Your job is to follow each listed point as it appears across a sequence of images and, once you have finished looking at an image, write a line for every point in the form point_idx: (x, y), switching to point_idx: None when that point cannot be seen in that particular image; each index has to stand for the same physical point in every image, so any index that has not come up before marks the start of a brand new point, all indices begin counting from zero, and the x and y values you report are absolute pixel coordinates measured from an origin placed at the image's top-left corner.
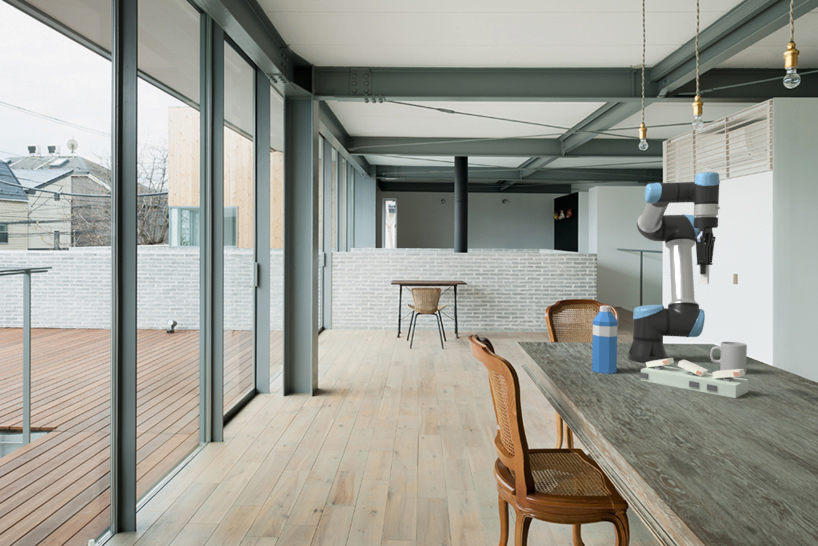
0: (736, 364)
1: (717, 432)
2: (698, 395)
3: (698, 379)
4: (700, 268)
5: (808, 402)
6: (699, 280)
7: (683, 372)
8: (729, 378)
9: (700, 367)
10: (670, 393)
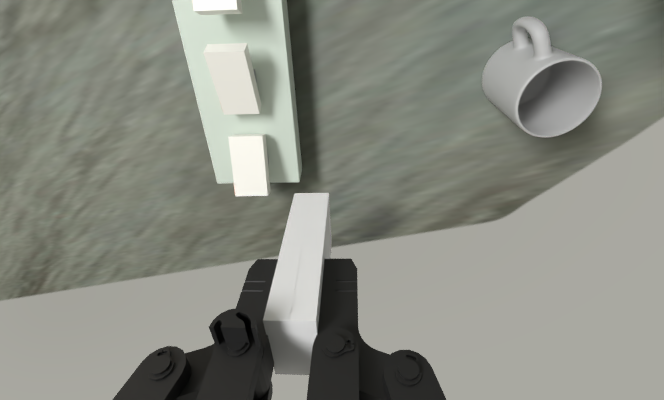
0: (492, 100)
1: (14, 213)
2: (176, 115)
3: (199, 110)
4: (237, 304)
5: None
6: (291, 208)
7: None
8: None
9: (246, 99)
10: (129, 66)
